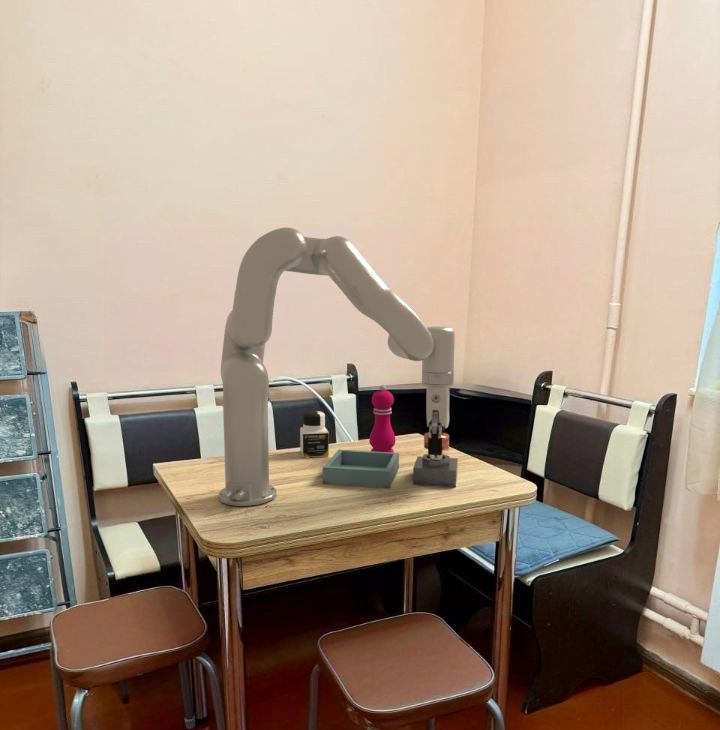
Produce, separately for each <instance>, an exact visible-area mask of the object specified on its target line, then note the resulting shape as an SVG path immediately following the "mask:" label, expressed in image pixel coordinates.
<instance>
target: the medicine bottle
mask: <svg viewBox="0 0 720 730" xmlns="http://www.w3.org/2000/svg"><path fill="white" fill-rule="evenodd" d="M302 417H303V418H302V421H303V422H302V423H303V424H302V425H303V426H302V427H300V428H299V434H300V436H299V438H300V439H299V440H300V444H299V445H300V447H299V448H300V449H299V450H300V451H299V452H300V453H301V455H302V458H303V459H308V458H307V457H313V458H328V457H329V455H330V454H329V453H330V452H329V450H330V449H329V446H330V445H329V444H330V443H329V442H330V440H329V437H330V436H329V435H330V433H329V430H328V429H327V428H326V419H325V418H326V414H325V413H324V412H323V411H321V410H320V411H318V410H310V411H306V412H304V413H303V415H302Z"/></svg>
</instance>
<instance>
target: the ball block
mask: <svg viewBox="0 0 720 730" xmlns="http://www.w3.org/2000/svg"><path fill="white" fill-rule="evenodd" d="M458 460H459V458H454V457H451V456H450V455H447V454H444V453H443V455H442V459H441V460H433V459H430V455H429V454H428V453H426V454H423V455H422V456H421V455H418V456H417V457H416V460H415V462H414V465H413V467H412V468H413V469H412V470H413V471H412V484H413V485H419V486H422V485H423V486H434V487H446V486H447V487H450V488H456V487H457V480H458V462H459V461H458ZM447 487H446V488H447Z"/></svg>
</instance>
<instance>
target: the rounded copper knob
mask: <svg viewBox="0 0 720 730" xmlns="http://www.w3.org/2000/svg"><path fill="white" fill-rule="evenodd" d="M428 438H429V431H428V432H425V433H424V434H423V448H424V449H426V450H428ZM441 438H442V455H443V454H444V453H443V451H445V450H448V449H450V434H448V433H447V432H444V433H442V432H441ZM442 455H430V459H433V460H441V459H442Z"/></svg>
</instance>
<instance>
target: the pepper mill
mask: <svg viewBox="0 0 720 730" xmlns="http://www.w3.org/2000/svg"><path fill="white" fill-rule="evenodd" d="M394 401H395V400H394V395H393V394H392V393H391V392H390V391H389V390H387V386H386V385H385V384H381V385H380V386H379V390H377V391H374V393H373V395H372V397H371V403H372V405H373V407H374V408H373V414H374V418H375V419H374V425H373V428H372V430H371V432H370V434H369V444H370V446H371V447H372V448H371V450H370V451H374V452H392V453H395V451H394V449H393V447H394V446H395V444H396V436H395V432H394V430H393V427H392V424H391V414H392V413H393V412H392V406H393V404H394Z"/></svg>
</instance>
